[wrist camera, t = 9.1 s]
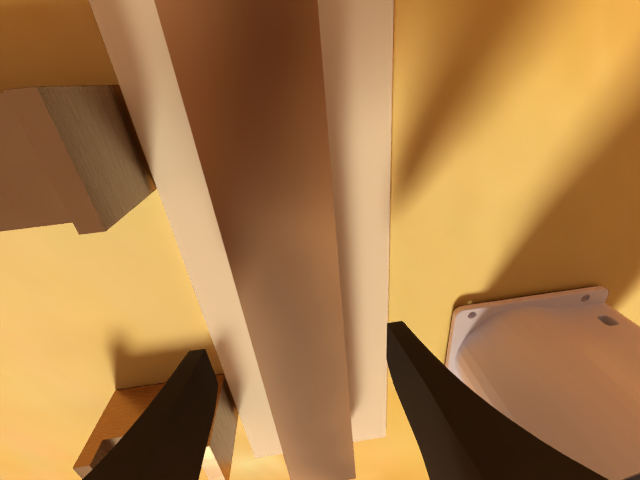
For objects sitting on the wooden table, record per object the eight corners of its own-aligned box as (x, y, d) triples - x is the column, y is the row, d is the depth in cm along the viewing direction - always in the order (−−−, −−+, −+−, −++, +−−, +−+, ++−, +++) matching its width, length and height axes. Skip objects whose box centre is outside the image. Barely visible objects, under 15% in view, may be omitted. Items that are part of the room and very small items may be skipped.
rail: (302, -44, 10) (309, -96, 7) (346, 427, 22) (355, 478, 19) (176, -33, 10) (131, -80, 7) (292, 436, 22) (293, 489, 19)
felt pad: (391, -133, 9) (396, -141, 9) (384, 431, 23) (385, 436, 23) (56, -108, 9) (45, -117, 8) (255, 452, 23) (255, 458, 23)
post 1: (119, 85, 11) (36, 86, 7) (156, 188, 13) (105, 231, 9) (-69, 104, 11) (-254, 116, 7) (-3, 207, 13) (-121, 259, 9)
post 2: (224, 374, 19) (209, 446, 15) (238, 413, 21) (228, 485, 17) (115, 390, 18) (72, 468, 15) (140, 428, 20) (107, 506, 17)
